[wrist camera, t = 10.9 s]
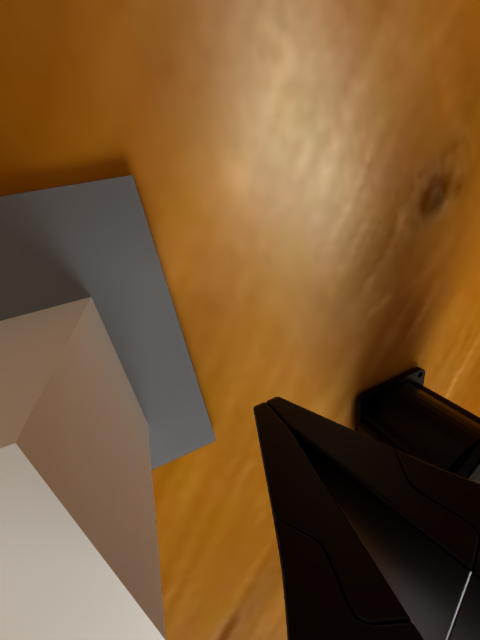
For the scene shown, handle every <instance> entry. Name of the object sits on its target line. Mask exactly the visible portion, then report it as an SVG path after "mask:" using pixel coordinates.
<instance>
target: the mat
mask: <svg viewBox="0 0 480 640" xmlns="http://www.w3.org/2000/svg"><path fill="white" fill-rule="evenodd" d="M88 297H92V299H93V302H94V304H95V306H96V308H97V311H98V313H99V315H100V317H101V320H102V322H103V324H104V326H105V328H106V331H107V333H108V335H109V337H110V340H111V342H112V344H113V346H114V349H115V351H116V353H117V355H118V358H119V360H120V362H121V364H122V367H123V369H124V371H125V373H126V376H127V378H128V380H129V382H130V385H131V387H132V389H133V391H134V394H135V396H136V398H137V400H138V402H139V405H140V407H141V409H142V411H143V414H144V416H145V418H146V420H147V423H148V430H149V442H150V454H151V466H152V470H153V469H155V468H157V467H159V466H161V465H164V464H166V463H168V462H170V461H172V460H175V459H177V458H179V457H181V456H183V455H185V454H188V453H190V452H192V451H194V450H196V449H199V448H201V447H203V446H205V445H207V444H210V443H212V442H214V441H216V439H215V435H214V432H213V429H212V426H211V423H210V420H209V416H208V413H207V410H206V407H205V404H204V400H203V397H202V394H201V391H200V388H199V385H198V381H197V378H196V375H195V372H194V369H193V365H192V362H191V359H190V356H189V353H188V350H187V346H186V343H185V340H184V337H183V334H182V331H181V327H180V324H179V321H178V318H177V315H176V311H175V308H174V305H173V302H172V299H171V296H170V292H169V289H168V286H167V283H166V280H165V276H164V273H163V270H162V267H161V264H160V261H159V257H158V254H157V251H156V248H155V245H154V241H153V238H152V235H151V232H150V229H149V226H148V222H147V219H146V216H145V213H144V210H143V207H142V203H141V200H140V197H139V194H138V191H137V187H136V184H135V181H134V178H133V175H129V176H123V177H116V178H110V179H104V180H98V181H92V182H86V183H79V184H73V185H67V186H61V187H55V188H49V189H42V190H36V191H30V192H24V193H18V194H12V195H5V196H0V321H2V320H6V319H10V318H13V317H17V316H21V315H25V314H28V313H32V312H36V311H40V310H43V309H47V308H51V307H55V306H58V305H62V304H66V303H70V302H73V301H77V300H81V299H84V298H88Z"/></svg>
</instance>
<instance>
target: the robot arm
mask: <svg viewBox="0 0 480 640" xmlns="http://www.w3.org/2000/svg"><path fill="white" fill-rule="evenodd" d="M424 376H425V370H424V369H422V368H420V367H416V368H414V369H412V370H410V371H408V372H405V373H403V374H401V375H399V376H397V377H395V378H393V379H391V380H389V381H387V382H385V383H383V384H381V385H378V386H376V387H374V388H372V389H370V390H368V391H366V392H364V393H362V394H360V395H359V396H358V398H357V432H356V431H354V430H352V429H349V428H347V427H345V426H343V425H341V424H338V423H336V422H334V421H332V420H329V419H327V418H325V417H323V416H321V415H318V414H316V413H314V412H312V411H309V410H307V409H305V408H303V407H301V406H298V405H296V404H294V403H292V402H289V401H287V400H285V399H283V398H280V397H275V398H272V399H270V400H268V401H267V402H266V403H265V402H263V403H261V404H259V405H256V406H254V408H253V409H254V415H255V420H256V426H257V431H258V437H259V442H260V448H261V453H262V459H263V464H264V470H265V475H266V481H267V486H268V492H269V497H270V503H271V508H272V514H273V519H274V526H275V531H276V537H277V543H278V549H279V556H280V563H281V569H282V579H283V589H284V600H285V611H286V625H287V639H288V640H480V418H479V417H477V416H476V415H474V414H472V413H470V412H469V411H467V410H465V409H463V408H462V407H460V406H458V405H456V404H454V403H453V402H451V401H449V400H447V399H446V398H444V397H442V396H440V395H439V394H437V393H435V392H433V391H432V390H430V389H428V388H426V387H424V386H423V384H424Z"/></svg>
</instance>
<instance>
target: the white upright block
mask: <svg viewBox="0 0 480 640" xmlns="http://www.w3.org/2000/svg"><path fill="white" fill-rule="evenodd" d="M0 640H166V634H165V622H164V610H163V598H162V586H161V574H160V562H159V550H158V538H157V526H156V514H155V502H154V490H153V478H152V466H151V454H150V442H149V430H148V423H147V420H146V418H145V416H144V414H143V411H142V409H141V407H140V405H139V402H138V400H137V398H136V396H135V394H134V391H133V389H132V387H131V385H130V382H129V380H128V378H127V376H126V373H125V371H124V369H123V367H122V364H121V362H120V360H119V358H118V355H117V353H116V351H115V349H114V346H113V344H112V342H111V340H110V337H109V335H108V333H107V331H106V328H105V326H104V324H103V322H102V320H101V317H100V315H99V313H98V311H97V308H96V306H95V304H94V302H93V299H92V297H88V298H84V299H81V300H77V301H73V302H70V303H66V304H62V305H58V306H55V307H51V308H47V309H43V310H40V311H36V312H32V313H28V314H25V315H21V316H17V317H13V318H10V319H6V320H2V321H0Z"/></svg>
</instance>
